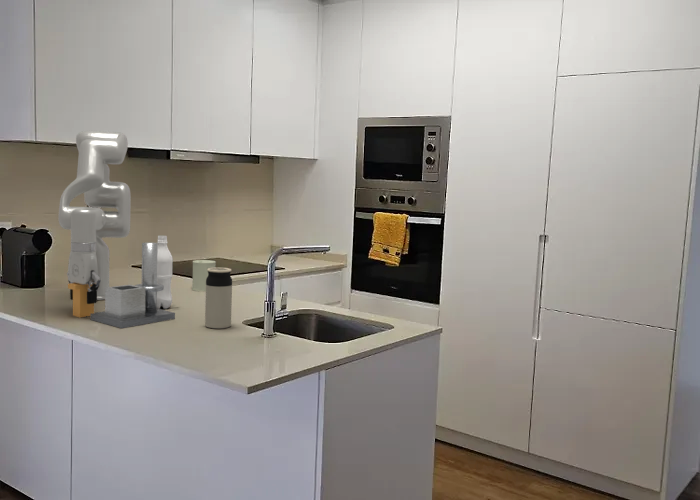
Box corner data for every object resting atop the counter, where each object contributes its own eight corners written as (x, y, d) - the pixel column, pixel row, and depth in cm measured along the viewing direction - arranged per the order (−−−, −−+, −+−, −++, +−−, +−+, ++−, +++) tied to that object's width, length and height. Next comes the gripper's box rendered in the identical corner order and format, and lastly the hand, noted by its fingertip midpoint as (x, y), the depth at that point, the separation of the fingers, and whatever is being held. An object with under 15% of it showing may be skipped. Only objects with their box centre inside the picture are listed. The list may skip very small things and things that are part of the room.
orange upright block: (67, 316, 219) (67, 283, 218) (91, 312, 226) (91, 281, 225) (75, 318, 217) (75, 285, 216) (98, 314, 223) (98, 282, 222)
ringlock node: (90, 319, 215) (90, 243, 213) (145, 311, 232) (145, 240, 229) (121, 328, 206) (122, 248, 203) (176, 318, 222) (177, 244, 220)
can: (187, 290, 275) (187, 260, 273) (200, 287, 283) (201, 258, 282) (206, 292, 271) (207, 262, 270) (219, 289, 280) (220, 260, 278)
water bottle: (176, 307, 241) (177, 235, 238) (164, 310, 234) (165, 237, 231) (158, 304, 243) (159, 234, 240) (146, 308, 236) (147, 235, 234)
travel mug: (218, 330, 209) (220, 271, 207) (199, 326, 213) (200, 268, 211) (236, 326, 216) (237, 269, 214) (217, 322, 220) (218, 266, 218)
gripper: (57, 245, 221) (57, 299, 223) (88, 251, 211) (88, 306, 213) (78, 244, 227) (78, 296, 229) (110, 249, 217) (109, 303, 219)
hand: (83, 301), depth 221 cm, fingers open, 8 cm apart
